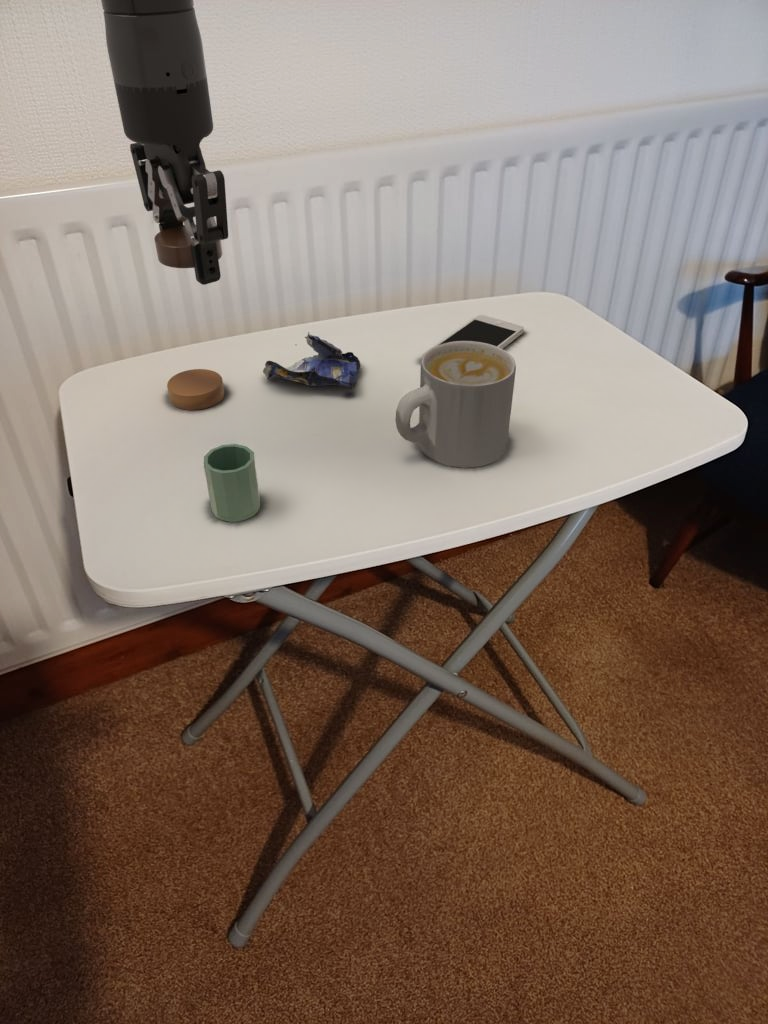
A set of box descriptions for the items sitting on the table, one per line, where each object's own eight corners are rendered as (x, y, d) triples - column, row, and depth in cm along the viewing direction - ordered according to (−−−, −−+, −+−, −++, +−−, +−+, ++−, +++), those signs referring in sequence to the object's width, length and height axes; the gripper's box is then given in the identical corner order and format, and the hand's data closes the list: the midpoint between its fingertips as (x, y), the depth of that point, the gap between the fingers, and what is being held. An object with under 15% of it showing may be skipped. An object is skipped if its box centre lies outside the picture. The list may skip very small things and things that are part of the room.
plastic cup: (245, 526, 77) (238, 476, 73) (203, 515, 78) (194, 466, 74) (268, 498, 80) (263, 449, 76) (227, 488, 82) (220, 440, 78)
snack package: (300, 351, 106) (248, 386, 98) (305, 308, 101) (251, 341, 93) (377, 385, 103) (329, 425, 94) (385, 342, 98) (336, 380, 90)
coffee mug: (485, 412, 93) (492, 335, 87) (522, 458, 86) (532, 377, 80) (377, 432, 90) (377, 352, 84) (406, 480, 83) (408, 398, 76)
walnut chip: (200, 272, 71) (196, 250, 70) (145, 263, 73) (140, 242, 72) (234, 249, 76) (231, 228, 74) (181, 241, 77) (178, 221, 76)
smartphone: (524, 332, 110) (525, 325, 109) (467, 376, 100) (468, 369, 99) (479, 319, 113) (480, 313, 112) (421, 361, 103) (421, 354, 102)
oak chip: (206, 414, 93) (203, 399, 92) (159, 404, 95) (156, 389, 94) (234, 388, 98) (232, 374, 96) (188, 379, 100) (186, 364, 98)
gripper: (83, 66, 67) (125, 258, 78) (155, 95, 58) (192, 306, 69) (163, 56, 71) (193, 240, 81) (243, 81, 62) (265, 284, 73)
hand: (192, 270), depth 75 cm, fingers closed on walnut chip, 6 cm apart
